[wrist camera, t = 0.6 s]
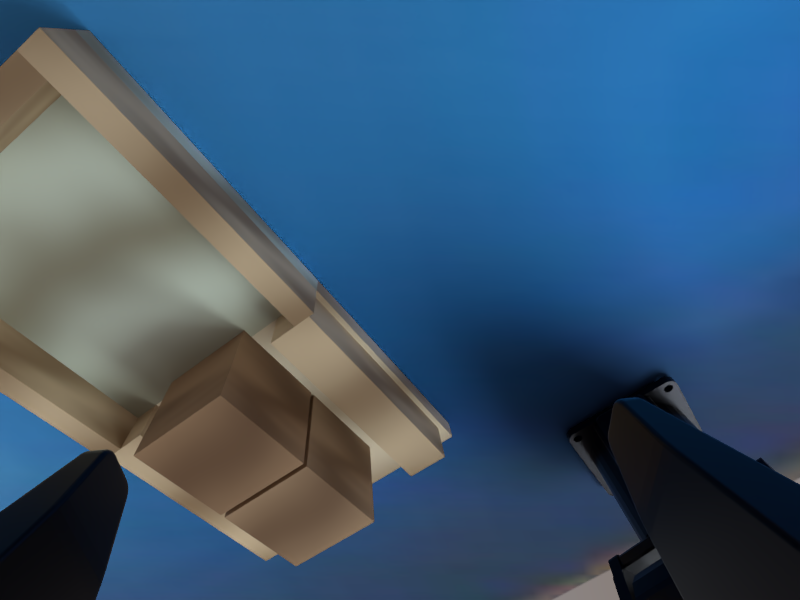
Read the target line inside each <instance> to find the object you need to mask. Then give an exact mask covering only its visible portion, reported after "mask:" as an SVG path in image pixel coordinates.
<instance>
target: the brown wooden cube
mask: <svg viewBox="0 0 800 600" xmlns="http://www.w3.org/2000/svg"><path fill="white" fill-rule="evenodd" d="M310 398H311V392H310V391H309V390H308V389H307V388H306V387H305V386H304V385H303V384H302V383H301V382H299V381H298V380H297V379H296V378H295V377H294V376H293V375H292V374H291V373H290V372H289V371H288V370H287V369H285V368H284V367H283V366H282V365H281V364H280V363H279V362H278V361H277V360H276V359H275V358H274V357H273V356H272V355H270V354H269V353H268V352H267V351H266V350H265V349H264V348H263V347H262V346H261V345H260V344H259V343H258V342H256V341H255V340H254V339H253V338H252V337H251V336H250V335H249V334H248V333H247V332H246V331H245V330H244V331H243V332H241V333H240V334H238V335H237V336H236V337H234V338H233V339H231V340H230V341H229V342H227V343H226V344H225V345H223V346H222V347H220V348H219V349H218V350H216V351H215V352H213V353H212V354H211V355H209V356H208V357H206V358H205V359H204V360H202V361H201V362H200V363H198V364H197V365H195V366H194V367H193V368H191V369H190V370H188V371H187V372H186V373H184V374H183V375H181V376H180V377H179V378H177V379H176V380H175V381H173V382H172V383H171V385H170V387H169V389H168V391H167V392H166V394H165V396H164V398H163V400H162V402H161V404H160V406H159V408H158V410H157V412H156V413H155V415H154V417H153V419H152V421H151V423H150V425H149V427H148V429H147V431H146V433H145V434H144V436H143V438H142V440H141V442H140V444H139V446H138V448H137V450H136V452H135V454H134V455H133V456H134V457H136V458H137V459H139V460H140V461H142V462H143V463H145V464H146V465H148V466H149V467H150V468H152V469H153V470H155V471H156V472H158V473H159V474H161V475H162V476H164V477H165V478H167V479H168V480H170V481H171V482H173V483H174V484H176V485H177V486H179V487H180V488H181V489H183V490H184V491H186V492H187V493H189V494H190V495H192V496H193V497H195V498H196V499H198V500H199V501H201V502H202V503H204V504H205V505H207V506H208V507H209V508H211V509H212V510H214V511H215V512H217V513H218V514H220V515H222V514H224V513H225V512H227V511H229V510H230V509H232V508H233V507H235V506H237V505H238V504H240V503H241V502H243V501H245V500H246V499H248V498H250V497H251V496H253V495H254V494H256V493H258V492H259V491H261V490H262V489H264V488H266V487H267V486H269V485H270V484H272V483H274V482H275V481H277V480H278V479H280V478H282V477H283V476H285V475H286V474H288V473H290V472H291V471H293V470H294V469H296V468H298V467H299V466H301V465H302V464H304V456H305V446H306V437H307V427H308V417H309V408H310Z"/></svg>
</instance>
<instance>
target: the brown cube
mask: <svg viewBox="0 0 800 600" xmlns="http://www.w3.org/2000/svg"><path fill="white" fill-rule="evenodd" d="M225 518H226V519H227V520H229V521H230V522H232V523H233V524H235V525H236V526H237V527H239V528H240V529H242V530H243V531H245V532H246V533H248V534H249V535H251V536H252V537H254V538H255V539H257V540H258V541H260V542H261V543H263V544H264V545H265V546H267V547H268V548H270V549H271V550H273V551H274V552H276V553H277V554H279V555H280V556H282V557H283V558H285V559H286V560H288V561H289V562H291V563H292V564H293V565H295V566H298V565H299V564H301V563H303V562H305V561H306V560H308V559H310V558H312V557H313V556H315V555H317V554H319V553H320V552H322V551H324V550H326V549H327V548H329V547H331V546H333V545H334V544H336V543H338V542H340V541H341V540H343V539H345V538H347V537H348V536H350V535H352V534H354V533H355V532H357V531H359V530H361V529H362V528H364V527H366V526H368V525H369V524H371V523H373V522H374V510H373V492H372V474H371V457H370V447H369V446H368V445H367V444H366V443H365V442H364V441H363V440H362V439H361V438H360V437H359V436H358V435H356V434H355V433H354V432H353V431H352V430H351V429H350V428H349V427H348V426H347V425H346V424H345V423H344V422H342V421H341V420H340V419H339V418H338V417H337V416H336V415H335V414H334V413H333V412H332V411H331V410H330V409H329V408H327V407H326V406H325V405H324V404H323V403H322V402H321V401H320V400H319V399H318V398H317V397H316V396H315V395H313V396H311V398H310V408H309V417H308V427H307V437H306V446H305V456H304V464H302V465H301V466H299V467H298V468H296V469H294V470H293V471H291V472H290V473H288V474H286V475H285V476H283V477H282V478H280V479H278V480H277V481H275V482H274V483H272V484H270V485H269V486H267V487H266V488H264V489H262V490H261V491H259V492H258V493H256V494H254V495H253V496H251V497H250V498H248V499H246V500H245V501H243V502H241V503H240V504H238V505H237V506H235V507H233V508H232V509H230V510H229V511H227V512H226V514H225Z"/></svg>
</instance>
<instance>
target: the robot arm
mask: <svg viewBox="0 0 800 600" xmlns="http://www.w3.org/2000/svg"><path fill="white" fill-rule="evenodd" d="M667 385H668V386H667ZM567 438H568V440H569V442H570V443H571V445H572V446H573V447H574V449H575V450H576V451H577V453H578V454H579V455H580V457H581V458H582V459H583V461H584V462H585V463H586V465H587V466H588V467H589V469H590V470H591V471H592V473H593V474H594V475H595V477H596V478H597V479H598V481H599V482H600V483H601V485H602V486H603V487H604V489H605V490H606V491H607V493H608V494H609V495H612V496H614V497H615V499H616V500H617V502H618V504H619V506H620V507H621V509H622V511H623V512H624V514H625V516H626V517H627V519H628V521H629V522H630V524H631V526H632V527H633V529H634V531H635V533H636V534H637V536H638V538H639V539H640V542H639V543H637V544H636V545H634V546H633V547H631V548H630V549H629V550H627V551H626V552H624V553H623V554H621V555H620V556H619V555H616V556H614V557H613V558H611V559H610V560H609V565H610V568H611V571H612V574H613V580H614V583H615V586H616V589H617V592H618V595H619V598H620V600H800V484H798V483H796V482H794V481H792V480H790V479H789V478H787V477H785V476H783V475H781V474H779V473H778V472H776V471H775V470H774V469H773V468H772V467H770V466H769V465H768V464H767V463H766V462H765V461H764V460H763V459H762V458H759V459H758V460H756V461H755V460H754V459H752V458H750V457H748V456H746V455H744V454H743V453H741V452H739V451H737V450H735V449H733V448H731V447H730V446H728V445H726V444H724V443H722V442H720V441H719V440H717V439H715V438H713V437H711V436H709V435H708V434H706V433H704V432H703V431H702V430H701V428H700V426H699V424H698V422H697V420H696V418H695V416H694V415H693V413H692V411H691V409H690V407H689V405H688V403H687V401H686V399H685V398H684V396H683V394H682V392H681V390H680V388H679V386H678V384H677V383H676V382H675V381H674V380H673V379H672V378H671V377H663V378H661V379H659V380H657V381H655V382H654V383H652V384H650V385H648V386H646V387H645V388H643V389H641V390H639V391H638V392H636V393H634V394H632V395H630V396H629V397H627V398H624V399H618V400H616V401H615V403H614V405H613V406H611V407H609V408H607V409H605V410H604V411H602V412H600V413H598V414H597V415H595V416H593V417H591V418H589V419H588V420H586V421H584V422H582V423H581V424H579V425H577V426H575V427H573V428H572V429H570V430H569V431H568V433H567ZM127 495H128V483H127V480H126V478H125V475H124V473H123V471H122V469H121V466H120V464H119V462H118V460H117V457H116V455H115V454H114V452H113V451H111V450H108V449H104V450H94V451H87V452H84V453H82V454H81V455H79V456H78V457H77V458H75V459H74V460H72V461H71V462H70V463H68V464H67V465H65V466H64V467H63V468H61V469H60V470H58V471H57V472H56V473H54V474H53V475H51V476H50V477H49V478H47V479H46V480H44V481H43V482H42V483H40V484H39V485H37V486H36V487H35V488H33V489H32V490H30V491H29V492H28V493H26V494H25V495H23V496H22V497H21V498H19V499H18V500H16V501H15V502H13V503H12V504H11V505H9V506H8V507H6V508H5V509H4V510H2V511H1V512H0V600H95V599H96V597H97V594H98V591H99V589H100V586H101V583H102V580H103V577H104V574H105V571H106V568H107V564H108V561H109V558H110V554H111V551H112V547H113V544H114V540H115V537H116V534H117V530H118V527H119V523H120V520H121V516H122V513H123V510H124V506H125V503H126V499H127Z"/></svg>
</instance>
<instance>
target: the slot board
mask: <svg viewBox="0 0 800 600" xmlns="http://www.w3.org/2000/svg"><path fill="white" fill-rule="evenodd" d="M244 330H245V331H246V332H247V333H248V334H249V335H250V336H251V337H252V338H253V339H254V340H255V341H256V342H258V343H259V344H260V345H261V346H262V347H263V348H264V349H265V350H266V351H267V352H268V353H269V354H270V355H272V356H273V357H274V358H275V359H276V360H277V361H278V362H279V363H280V364H281V365H282V366H283V367H284V368H285V369H287V370H288V371H289V372H290V373H291V374H292V375H293V376H294V377H295V378H296V379H297V380H298V381H299V382H301V383H302V384H303V385H304V386H305V387H306V388H307V389H308V390H309V391H310V392H311V396H313V395H315V396H316V397H317V398H318V399H319V400H320V401H321V402H322V403H323V404H324V405H325V406H326V407H327V408H329V409H330V410H331V411H332V412H333V413H334V414H335V415H336V416H337V417H338V418H339V419H340V420H341V421H342V422H344V423H345V424H346V425H347V426H348V427H349V428H350V429H351V430H352V431H353V432H354V433H355V434H356V435H358V436H359V437H360V438H361V439H362V440H363V441H364V442H365V443H366V444H367V445H368V446H369V447H370V457H371V474H372V483H374V482H376V481H378V480H379V479H381V478H383V477H384V476H386V475H388V474H389V473H391V472H393V471H394V470H396V469H398V468H400V467H402V468H403V469H404V470H405V471H406V472H407V473H408V474H409V475H410V476H413V475H414V474H416V473H418V472H419V471H421V470H423V469H425V468H426V467H428V466H430V465H431V464H433V463H435V462H437V461H438V460H440V459H442V458H443V457H445V455H444V451H443V447H442V442H444V441H445V440H447V439H449V438H450V437H452V434H451V430H450V426H449V423H448V422H447V421H446V420H445V419H444V418H443V417H442V416H441V414H440V413H439V412H438V411H437V410H436V409H435V408H434V407H433V406H432V405H431V403H430V402H429V401H428V400H427V399H426V398H425V397H424V396H423V395H422V394H421V393H420V391H419V390H418V389H417V388H416V387H415V386H414V385H413V384H412V383H411V382H410V381H409V379H408V378H407V377H406V376H405V375H404V374H403V373H402V372H401V371H400V370H399V369H398V367H397V366H396V365H395V364H394V363H393V362H392V361H391V360H390V359H389V358H388V357H387V355H386V354H385V353H384V352H383V351H382V350H381V349H380V348H379V347H378V346H377V344H376V343H375V342H374V341H373V340H372V339H371V338H370V337H369V336H368V335H367V334H366V332H365V331H364V330H363V329H362V328H361V327H360V326H359V325H358V324H357V323H356V322H355V320H354V319H353V318H352V317H351V316H350V315H349V314H348V313H347V312H346V311H345V310H344V308H343V307H342V306H341V305H340V304H339V303H338V302H337V301H336V300H335V299H334V297H333V296H332V295H331V294H330V293H329V292H328V291H327V290H326V289H325V288H324V287H323V285H322V284H321V283H320V282H319V281H318V280H317V279H316V278H315V277H314V276H313V275H312V273H311V272H310V271H309V270H308V269H307V268H306V267H305V266H304V265H303V264H302V263H301V261H300V260H299V259H298V258H297V257H296V256H295V255H294V254H293V253H292V252H291V251H290V249H289V248H288V247H287V246H286V245H285V244H284V243H283V242H282V241H281V240H280V238H279V237H278V236H277V235H276V234H275V233H274V232H273V231H272V230H271V229H270V228H269V226H268V225H267V224H266V223H265V222H264V221H263V220H262V219H261V218H260V217H259V216H258V214H257V213H256V212H255V211H254V210H253V209H252V208H251V207H250V206H249V205H248V204H247V202H246V201H245V200H244V199H243V198H242V197H241V196H240V195H239V194H238V193H237V191H236V190H235V189H234V188H233V187H232V186H231V185H230V184H229V183H228V182H227V181H226V179H225V178H224V177H223V176H222V175H221V174H220V173H219V172H218V171H217V170H216V169H215V167H214V166H213V165H212V164H211V163H210V162H209V161H208V160H207V159H206V158H205V157H204V155H203V154H202V153H201V152H200V151H199V150H198V149H197V148H196V147H195V146H194V144H193V143H192V142H191V141H190V140H189V139H188V138H187V137H186V136H185V135H184V134H183V132H182V131H181V130H180V129H179V128H178V127H177V126H176V125H175V124H174V123H173V122H172V120H171V119H170V118H169V117H168V116H167V115H166V114H165V113H164V112H163V111H162V110H161V108H160V107H159V106H158V105H157V104H156V103H155V102H154V101H153V100H152V99H151V98H150V96H149V95H148V94H147V93H146V92H145V91H144V90H143V89H142V88H141V87H140V85H139V84H138V83H137V82H136V81H135V80H134V79H133V78H132V77H131V76H130V75H129V73H128V72H127V71H126V70H125V69H124V68H123V67H122V66H121V65H120V64H119V63H118V61H117V60H116V59H115V58H114V57H113V56H112V55H111V54H110V53H109V52H108V51H107V49H106V48H105V47H104V46H103V45H102V44H101V43H100V42H99V41H98V40H97V38H96V37H95V36H94V35H93V34H92V33H91V32H90V31H89V30H74V29H58V28H42V27H39V28H38V29H37V30H36V31H35V32H34V33H33V34H32V35H31V36H30V37H29V38H28V39H27V40H26V41H25V42H24V43H23V44H22V45H21V46H20V47H19V48H18V49H17V50H16V51H15V52H14V53H13V54H12V55H11V56H10V57H9V58H8V59H7V60H6V61H5V63H4V64H3V65H2V66H1V67H0V392H1V393H3V394H4V395H6V396H8V397H9V398H11V399H12V400H14V401H15V402H17V403H18V404H20V405H21V406H23V407H24V408H26V409H27V410H29V411H31V412H32V413H34V414H35V415H37V416H38V417H40V418H41V419H43V420H44V421H46V422H47V423H49V424H50V425H52V426H53V427H55V428H57V429H58V430H60V431H61V432H63V433H64V434H66V435H67V436H69V437H70V438H72V439H73V440H75V441H76V442H78V443H79V444H81V445H83V446H84V447H86V448H87V449H89V450H90V451H94V450H104V449H108V450H111V451H113V452H114V454H115V455H116V457H117V460H118V462H119V464H120V465H121V466H123V467H124V468H126V469H127V470H129V471H130V472H132V473H133V474H135V475H136V476H138V477H139V478H141V479H142V480H144V481H145V482H147V483H148V484H150V485H151V486H153V487H154V488H156V489H158V490H159V491H161V492H162V493H164V494H165V495H167V496H168V497H170V498H171V499H173V500H174V501H176V502H177V503H179V504H180V505H182V506H183V507H185V508H186V509H188V510H189V511H191V512H192V513H194V514H195V515H197V516H198V517H200V518H202V519H203V520H205V521H206V522H208V523H209V524H211V525H212V526H214V527H215V528H217V529H218V530H220V531H221V532H223V533H224V534H226V535H227V536H229V537H230V538H232V539H233V540H235V541H236V542H238V543H239V544H241V545H243V546H244V547H246V548H247V549H249V550H250V551H252V552H253V553H255V554H256V555H258V556H259V557H261V558H262V559H264V560H265V561H267V560H268V559H270V558H272V557H274V556H275V555H277V553H276V552H274V551H273V550H271V549H270V548H268V547H267V546H265V545H264V544H263V543H261V542H260V541H258V540H257V539H255V538H254V537H252V536H251V535H249V534H248V533H246V532H245V531H243V530H242V529H240V528H239V527H237V526H236V525H235V524H233V523H232V522H230V521H229V520H227V519H226V518H225V514H226V512H225V513H224V514H222V515H220V514H218V513H217V512H215V511H214V510H212V509H211V508H209V507H208V506H207V505H205V504H204V503H202V502H201V501H199V500H198V499H196V498H195V497H193V496H192V495H190V494H189V493H187V492H186V491H184V490H183V489H181V488H180V487H179V486H177V485H176V484H174V483H173V482H171V481H170V480H168V479H167V478H165V477H164V476H162V475H161V474H159V473H158V472H156V471H155V470H153V469H152V468H150V467H149V466H148V465H146V464H145V463H143V462H142V461H140V460H139V459H137V458H136V457H134V456H133V455H134V454H135V452H136V450H137V448H138V446H139V444H140V442H141V440H142V438H143V436H144V434H145V433H146V431H147V429H148V427H149V425H150V423H151V421H152V419H153V417H154V415H155V413H156V412H157V410H158V408H159V406H160V404H161V402H162V400H163V398H164V396H165V394H166V392H167V391H168V389H169V387H170V385H171V383H172V382H173V381H175V380H176V379H177V378H179V377H180V376H181V375H183V374H184V373H186V372H187V371H188V370H190V369H191V368H193V367H194V366H195V365H197V364H198V363H200V362H201V361H202V360H204V359H205V358H206V357H208V356H209V355H211V354H212V353H213V352H215V351H216V350H218V349H219V348H220V347H222V346H223V345H225V344H226V343H227V342H229V341H230V340H231V339H233V338H234V337H236V336H237V335H238V334H240V333H241V332H243V331H244Z"/></svg>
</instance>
